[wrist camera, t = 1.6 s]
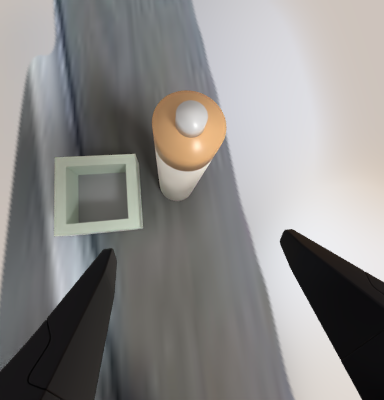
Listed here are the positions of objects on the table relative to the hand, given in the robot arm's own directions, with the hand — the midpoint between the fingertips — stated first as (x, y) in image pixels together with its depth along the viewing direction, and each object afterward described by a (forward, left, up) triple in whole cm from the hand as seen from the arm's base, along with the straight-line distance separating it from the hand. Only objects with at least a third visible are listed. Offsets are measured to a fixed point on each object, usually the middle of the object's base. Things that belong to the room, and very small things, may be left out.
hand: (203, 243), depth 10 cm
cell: (+6, 0, -12) cm, 14 cm away
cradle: (+5, +8, -12) cm, 16 cm away
